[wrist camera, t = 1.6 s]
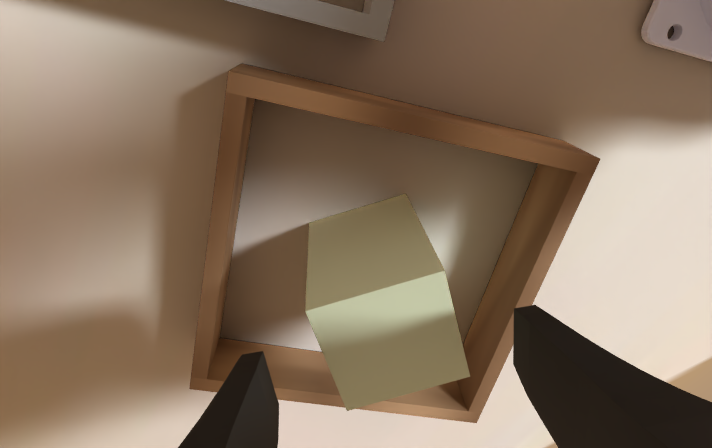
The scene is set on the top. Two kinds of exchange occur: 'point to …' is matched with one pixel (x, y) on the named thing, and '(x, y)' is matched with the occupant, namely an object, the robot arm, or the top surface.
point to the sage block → (381, 304)
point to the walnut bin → (504, 291)
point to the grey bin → (332, 14)
